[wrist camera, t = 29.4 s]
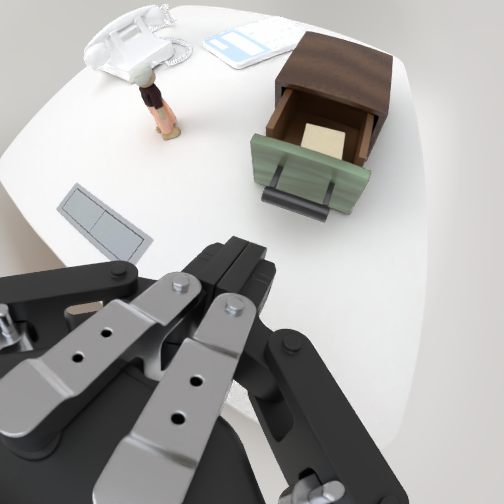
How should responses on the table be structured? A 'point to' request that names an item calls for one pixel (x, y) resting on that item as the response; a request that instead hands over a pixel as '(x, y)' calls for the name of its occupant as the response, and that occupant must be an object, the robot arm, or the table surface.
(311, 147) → the block
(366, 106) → the cabinet
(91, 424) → the robot arm
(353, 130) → the drawer
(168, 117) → the grandmother figurine
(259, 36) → the calculator
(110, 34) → the telephone
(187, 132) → the table surface
